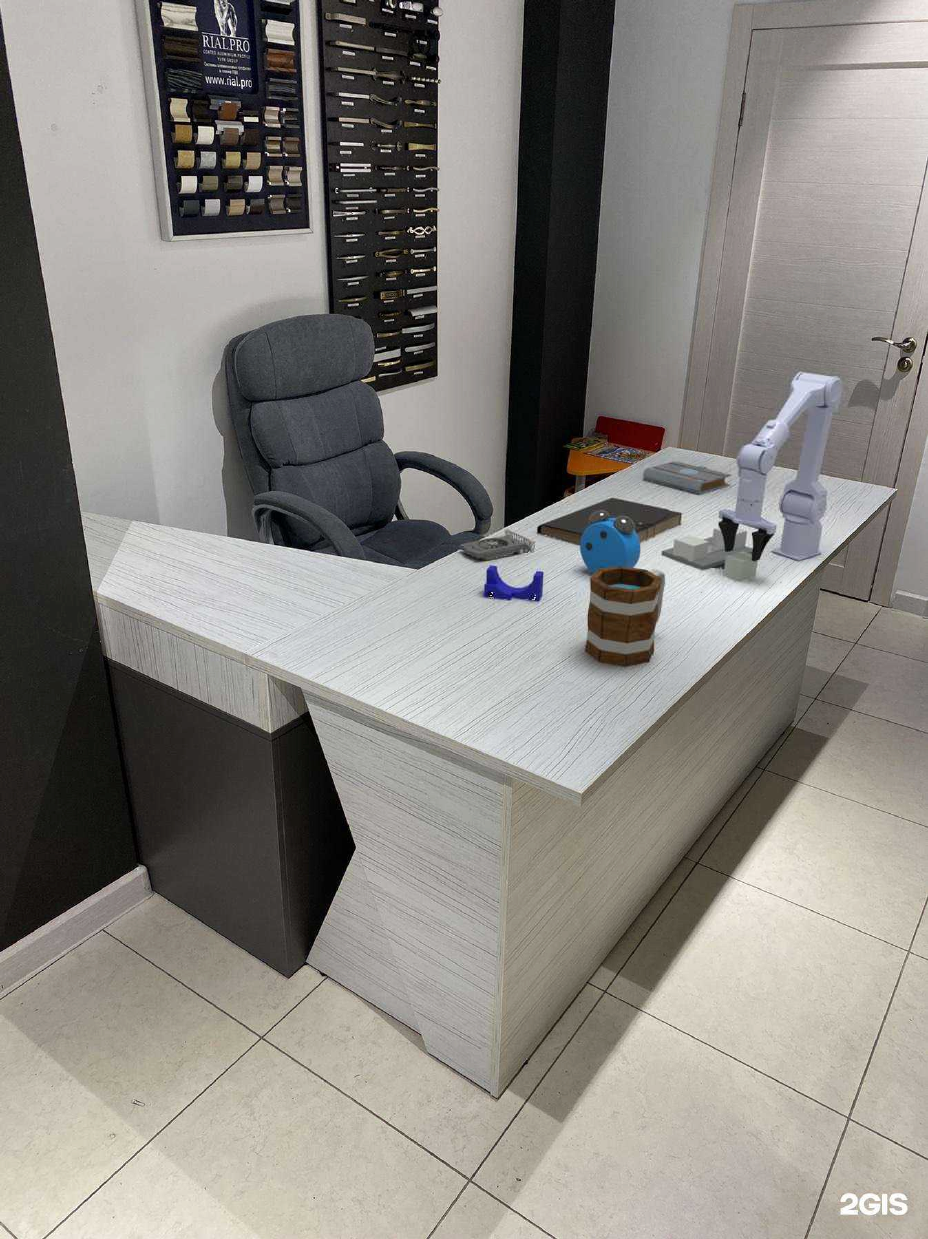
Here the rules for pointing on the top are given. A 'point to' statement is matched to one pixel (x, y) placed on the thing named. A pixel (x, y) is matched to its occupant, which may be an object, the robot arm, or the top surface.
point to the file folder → (642, 515)
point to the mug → (623, 614)
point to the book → (687, 477)
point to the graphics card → (498, 546)
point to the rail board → (708, 555)
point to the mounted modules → (704, 544)
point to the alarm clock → (609, 542)
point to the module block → (740, 566)
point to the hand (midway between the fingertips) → (742, 555)
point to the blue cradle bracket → (508, 592)
